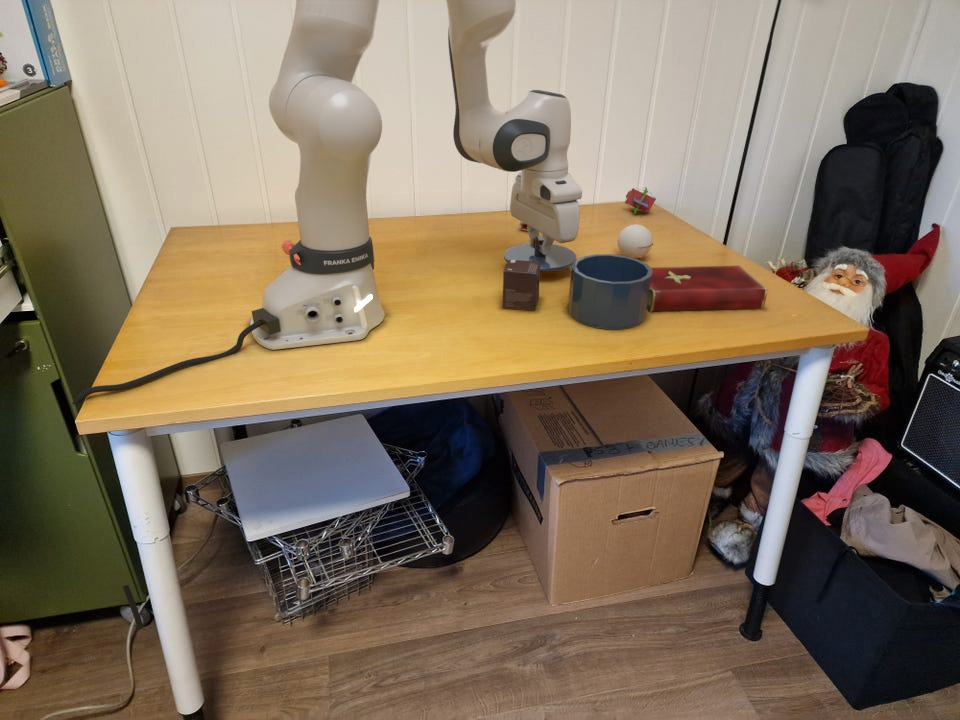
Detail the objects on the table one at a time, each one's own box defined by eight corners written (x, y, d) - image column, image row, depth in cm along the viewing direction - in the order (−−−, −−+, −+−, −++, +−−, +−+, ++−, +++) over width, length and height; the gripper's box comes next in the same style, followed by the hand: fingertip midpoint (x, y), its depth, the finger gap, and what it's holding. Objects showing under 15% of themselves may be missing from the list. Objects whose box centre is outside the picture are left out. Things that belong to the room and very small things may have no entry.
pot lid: (526, 279, 123) (527, 255, 121) (491, 254, 134) (491, 232, 132) (590, 266, 129) (592, 244, 126) (551, 244, 140) (552, 223, 138)
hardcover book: (763, 309, 117) (768, 288, 115) (650, 312, 116) (653, 291, 114) (735, 284, 128) (739, 264, 126) (631, 286, 126) (634, 266, 124)
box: (534, 312, 116) (537, 273, 112) (501, 308, 117) (502, 270, 113) (539, 298, 121) (541, 261, 117) (507, 295, 122) (508, 258, 118)
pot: (597, 336, 108) (603, 288, 104) (554, 305, 118) (557, 261, 114) (661, 320, 113) (669, 275, 109) (614, 292, 124) (619, 249, 120)
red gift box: (659, 202, 170) (643, 176, 167) (662, 209, 164) (646, 183, 162) (634, 217, 173) (619, 192, 170) (636, 225, 167) (620, 199, 164)
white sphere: (628, 266, 136) (632, 232, 132) (608, 254, 142) (612, 222, 138) (667, 260, 139) (672, 226, 136) (646, 248, 145) (651, 216, 141)
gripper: (503, 171, 130) (501, 237, 137) (558, 196, 114) (553, 269, 121) (530, 168, 133) (527, 233, 140) (587, 192, 117) (581, 264, 124)
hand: (540, 250), depth 130 cm, fingers closed on pot lid, 2 cm apart
